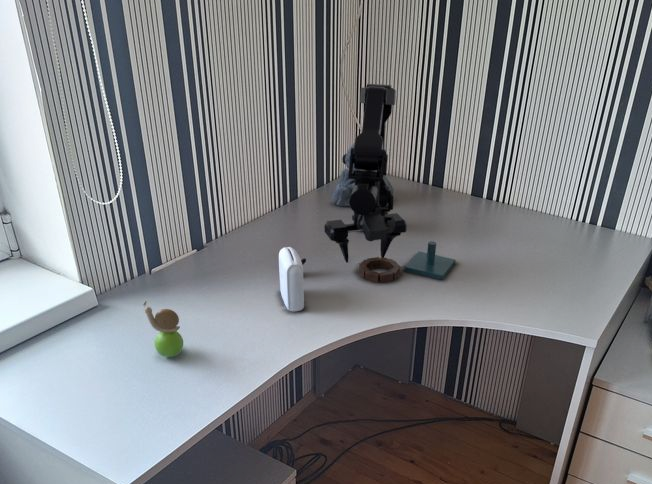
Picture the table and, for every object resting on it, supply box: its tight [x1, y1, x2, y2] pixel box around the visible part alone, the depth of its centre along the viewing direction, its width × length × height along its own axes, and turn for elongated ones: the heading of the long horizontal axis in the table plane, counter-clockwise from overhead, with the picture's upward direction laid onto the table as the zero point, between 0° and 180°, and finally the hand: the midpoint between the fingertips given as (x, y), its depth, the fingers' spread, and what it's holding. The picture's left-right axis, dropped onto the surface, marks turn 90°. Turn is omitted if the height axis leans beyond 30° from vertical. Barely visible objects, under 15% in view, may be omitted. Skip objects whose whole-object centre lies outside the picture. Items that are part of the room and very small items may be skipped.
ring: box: [358, 256, 401, 284], centre depth 169 cm, size 10×10×2 cm
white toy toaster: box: [278, 246, 305, 313], centre depth 153 cm, size 10×4×12 cm, turn 17°
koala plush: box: [331, 141, 394, 208], centre depth 206 cm, size 17×18×20 cm
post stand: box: [403, 240, 456, 281], centre depth 171 cm, size 10×10×7 cm
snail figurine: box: [142, 300, 184, 358], centre depth 133 cm, size 5×6×12 cm
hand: (364, 259), depth 166 cm, fingers open, 9 cm apart
